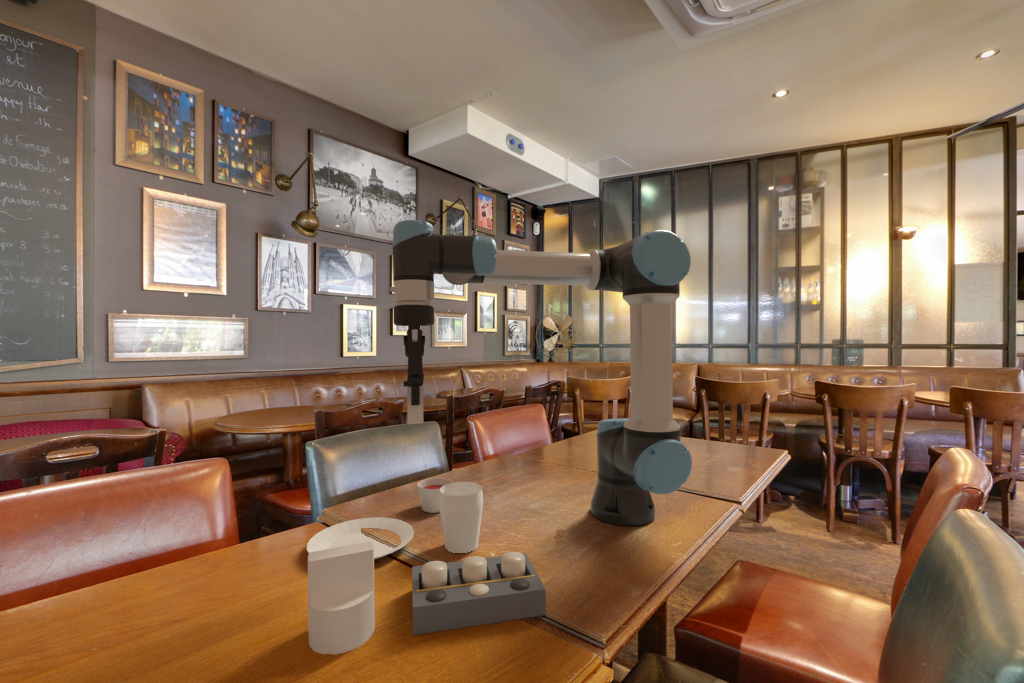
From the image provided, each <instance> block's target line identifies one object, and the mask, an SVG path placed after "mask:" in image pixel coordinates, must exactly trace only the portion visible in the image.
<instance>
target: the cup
mask: <svg viewBox="0 0 1024 683" xmlns="http://www.w3.org/2000/svg"><path fill="white" fill-rule="evenodd" d="M439 508H440V512H439V515H440V520H441V528H442V534H443V535H442V536H443V540H444V547H445V550H446V549H447V550H448V551H447V550H446V551H447V552H449V551H450V552H449V553H451V552H453V553H452V554H454V553H465V554H469V553H471V551H472V552H474V551H476V549H477V548H478V547H479V538H480V531H481V523H482V518H483V517H482V515H483V508H484V495H483V486H482V485H481V484H479V483H477V482H476V483H475V482H473V481H458V482H457V481H456V482H453V483H450V484H447V485H444V486H442V487H441V488H440V499H439ZM468 552H469V553H468Z"/></svg>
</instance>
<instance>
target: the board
mask: <svg viewBox="0 0 1024 683" xmlns="http://www.w3.org/2000/svg"><path fill="white" fill-rule="evenodd" d="M522 554H523V555H524V556H525V576H521V577H513V578H505V579H501V556H502V555H498V556H491V557H490V556H489V557H484V558H485V559H486V561H487V581H482V582H475V583H467V584H462V562H463V560H457V561H450V562H449V561H448V562H445V563H446V564H447V586H444V587H436V588H429V589H422V566H423V565H424V564H423V565H416V566H415V565H414V566H412V567H411V569H412V570H411V576H412V578H411V581H412V582H411V583H412V585H411V588H412V592H411V593H412V596H411V597H412V598H411V599H412V636H416V635H423V634H429V633H430V634H431V633H436V632H443V631H444V632H445V631H449V630H456V629H462V628H463V629H464V628H469V627H478V626H483V625H489V624H497V623H501V622H502V623H503V622H509V621H510V622H511V621H515V620H521V619H529V618H535V617H540V616H541V617H543V616H546V615H547V609H546V606H547V605H546V602H547V601H546V596H547V595H546V592H547V591H546V588H545V586H544V584H543V582H542V580H541V578H540V577H539V575H538V573H537V570H536V569H535V568H534V565H533V563H532V562H531V560H530V558H529V556H528V554H527V553H525V552H524V553H522ZM545 614H546V615H545Z"/></svg>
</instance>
